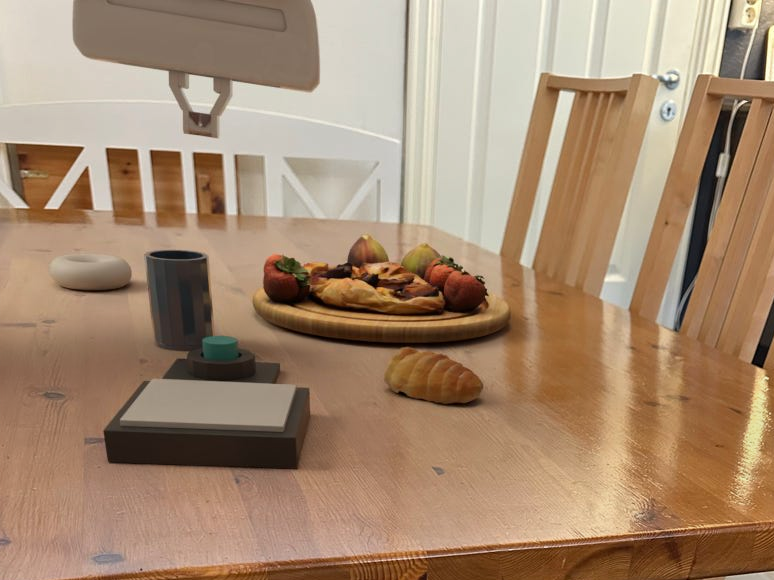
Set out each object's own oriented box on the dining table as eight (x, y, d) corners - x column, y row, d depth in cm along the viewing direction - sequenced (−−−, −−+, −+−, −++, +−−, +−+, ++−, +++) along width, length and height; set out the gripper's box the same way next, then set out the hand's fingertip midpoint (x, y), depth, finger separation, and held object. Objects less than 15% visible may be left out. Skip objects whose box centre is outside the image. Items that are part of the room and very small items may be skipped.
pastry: (495, 396, 91) (498, 357, 89) (459, 413, 85) (462, 372, 83) (414, 378, 94) (415, 339, 92) (376, 393, 89) (376, 352, 87)
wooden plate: (253, 347, 100) (248, 266, 96) (252, 287, 127) (249, 222, 123) (538, 351, 107) (545, 275, 103) (481, 294, 134) (484, 232, 129)
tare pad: (160, 390, 85) (157, 363, 84) (177, 367, 92) (175, 341, 91) (271, 395, 86) (269, 368, 85) (280, 371, 93) (279, 346, 92)
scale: (107, 462, 69) (101, 423, 68) (147, 409, 81) (142, 374, 79) (297, 469, 71) (295, 430, 69) (310, 415, 82) (309, 381, 80)
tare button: (201, 362, 86) (199, 343, 86) (207, 353, 89) (205, 334, 88) (236, 363, 87) (234, 344, 86) (241, 355, 90) (239, 336, 89)
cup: (148, 350, 97) (138, 258, 92) (161, 336, 102) (152, 248, 97) (209, 353, 97) (202, 261, 93) (219, 338, 102) (212, 251, 98)
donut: (50, 279, 124) (53, 293, 116) (45, 251, 122) (49, 263, 114) (129, 278, 127) (137, 291, 120) (125, 251, 126) (134, 263, 118)
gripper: (54, -88, 71) (67, 116, 77) (323, -41, 75) (315, 151, 81) (75, -70, 77) (86, 120, 83) (325, -26, 80) (317, 152, 86)
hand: (201, 136), depth 82 cm, fingers closed
